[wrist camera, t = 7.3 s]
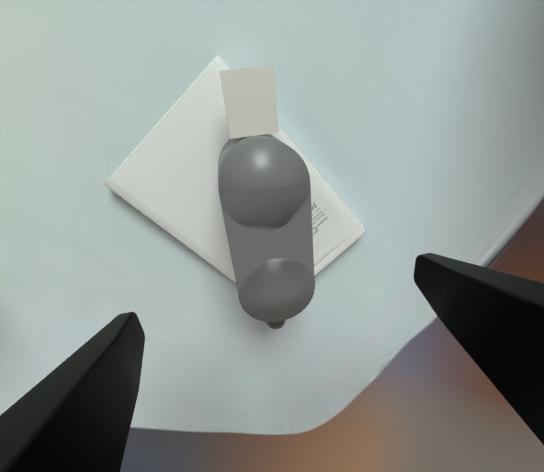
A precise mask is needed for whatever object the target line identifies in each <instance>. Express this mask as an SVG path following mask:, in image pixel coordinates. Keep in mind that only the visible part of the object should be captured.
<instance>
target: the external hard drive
mask: <svg viewBox="0 0 544 472" xmlns="http://www.w3.org/2000/svg"><path fill="white" fill-rule="evenodd" d="M223 70H230V69H229V67H228V66H227V65H226V64H225V63H224V62H223V60H222V59H221V58H220V57H219V56H218V55H217V56H216V57H215V58H214V59H213V60H212V61H211V62H210V63H209V65H208V66H207V67H206V68H205V69H204V70H203V71H202V73H201V74H200V75H199V76H198V77H197V78H196V79H195V80H194V82H193V83H192V84H191V85H190V86H189V87H188V88H187V90H186V91H185V92H184V93H183V94H182V95H181V96H180V97H179V99H178V100H177V101H176V102H175V103H174V104H173V105H172V107H171V108H170V109H169V110H168V111H167V112H166V113H165V114H164V116H163V117H162V118H161V119H160V120H159V121H158V122H157V124H156V125H155V126H154V127H153V128H152V129H151V130H150V131H149V133H148V134H147V135H146V136H145V137H144V138H143V139H142V141H141V142H140V143H139V144H138V145H137V146H136V147H135V148H134V150H133V151H132V152H131V153H130V154H129V155H128V156H127V157H126V159H125V160H124V161H123V162H122V163H121V164H120V165H119V166H118V168H117V169H116V170H115V171H114V172H113V173H112V175H111V176H110V177H109V178H108V179H107V180H106V181H105V182H104V184H105V186H107V187H108V188H109V189H111V190H112V191H113V192H115V193H116V194H117V195H119V196H120V197H121V198H123V199H124V200H125V201H127V202H128V203H129V204H131V205H132V206H133V207H135V208H136V209H138V210H139V211H140V212H142V213H143V214H144V215H146V216H147V217H148V218H150V219H151V220H152V221H154V222H155V223H156V224H158V225H159V226H160V227H162V228H163V229H164V230H166V231H167V232H168V233H170V234H171V235H172V236H174V237H175V238H176V239H178V240H179V241H180V242H182V243H183V244H184V245H186V246H187V247H188V248H190V249H191V250H192V251H194V252H195V253H196V254H198V255H199V256H200V257H202V258H203V259H204V260H206V261H207V262H208V263H210V264H211V265H212V266H214V267H215V268H216V269H218V270H219V271H220V272H222V273H223V274H224V275H226V276H227V277H228V278H230V279H231V280H232V281H234V282H235V283H236V280H235V274H234V269H233V264H232V259H231V254H230V249H229V244H228V238H227V233H226V228H225V223H224V218H223V213H222V208H221V202H220V197H219V190H218V161H219V156H220V153H221V150H222V148H223V147H224V145H225V144H226V142H227V141H228V140H229V139H230V135H229V129H228V123H227V116H226V110H225V104H224V98H223V91H222V85H221V79H220V71H223ZM278 128H279V133H272V134H271V135H273V136H274V137H276V138H277V139H279V140H280V141H282V142H283V143H285V144H286V145H288V146H289V147H291V148H292V149H293V150H295V151H296V152H297V153H298V154H299V155H300V156H301V158H302V159H303V160H304V162H305V164H306V166H307V169H308V171H309V175H310V186H311V210H312V233H313V256H314V276H315V275H316V274H318V273H319V272H320V271H321V270H322V269H324V268H325V267H326V266H327V265H328V264H329V263H330V262H332V261H333V260H334V259H335V258H336V257H337V256H339V255H340V254H341V253H342V252H343V251H344V250H345V249H347V248H348V247H349V246H350V245H351V244H353V243H354V242H355V241H356V240H357V239H358V238H359V237H360V236H361V235H362V234H363V233H364V232H365V230H366V229H365V228H364V226H363V225H362V224H361V223H360V222H359V221H358V219H357V218H356V217H355V216H354V215H353V213H352V212H351V211H350V210H349V209H348V208H347V206H346V205H345V204H344V203H343V202H342V201H341V199H340V198H339V197H338V196H337V194H336V193H335V192H334V191H333V190H332V189H331V187H330V186H329V185H328V184H327V183H326V181H325V180H324V179H323V178H322V177H321V176H320V174H319V173H318V172H317V171H316V170H315V168H314V167H313V166H312V165H311V164H310V163H309V161H308V160H307V159H306V158H305V157H304V156H303V154H302V153H301V152H300V151H299V150H298V148H297V147H296V146H295V145H294V144H293V143H292V141H291V140H290V139H289V138H288V137H287V135H286V134H285V133H284V132H283V131H282V130H281V128H280V127H279V126H278Z"/></svg>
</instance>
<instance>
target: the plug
mask: <svg viewBox="0 0 544 472" xmlns="http://www.w3.org/2000/svg"><path fill="white" fill-rule="evenodd" d="M220 79H221V85H222V91H223V98H224V104H225V110H226V116H227V123H228V129H229V135H230V139H229V140H228V141H227V142H226V144H225V145H224V147H223V148H222V150H221V153H220V156H219V161H218V190H219V197H220V202H221V208H222V213H223V218H224V223H225V228H226V233H227V238H228V244H229V249H230V254H231V259H232V264H233V269H234V274H235V280H236V285H237V290H238V295H239V300H240V303H241V305H242V307H243V309H244V310H245V311H246V312H247V313H248V314H249V315H250V316H252V317H253V318H256V319H258V320H261V321H266V322H267V324H268V326H269V327H271V328H273V329H279V328H281V327H282V326H283V325H284V323H285V320H286V319H289V318H291V317H293V316H295V315H297V314H299V313H300V312H301V311H302V310H303V309H304V308H305V307H306V306H307V305H308V304H309V302H310V301H311V299H312V297H313V294H314V289H315V280H314V256H313V233H312V210H311V186H310V175H309V171H308V169H307V166H306V164H305V162H304V160H303V159H302V158H301V156H300V155H299V154H298V153H297V152H296V151H295V150H293V149H292V148H291V147H289V146H288V145H286V144H285V143H283V142H282V141H280V140H279V139H277V138H276V137H274V136H273V135H271V134H272V133H279V128H278V117H277V105H276V94H275V82H274V71H273V65H271V66H261V67H251V68H242V69H232V70H223V71H220Z"/></svg>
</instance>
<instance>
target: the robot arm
mask: <svg viewBox="0 0 544 472" xmlns="http://www.w3.org/2000/svg"><path fill="white" fill-rule="evenodd" d="M414 281H415V283H416V285H417V286H418V288H419V289H420V291H421V292H422V294H423V295H424V297H425V298H426V300H427V301H428V303H429V304H430V306H431V307H432V309H433V310H434V311H435V313H436V314H437V316H438V317H439V319H440V320H441V321H442V323H443V324H444V325H445V326H446V328H447V329H448V330H449V331H450V333H451V334H452V335H453V336H454V337H455V339H456V340H457V341H458V342H459V343H460V345H461V346H462V347H463V348H464V349H465V351H466V352H467V353H468V354H469V355H470V357H471V358H472V359H473V360H474V362H475V363H476V364H477V365H478V366H479V367H480V369H481V370H482V371H483V372H484V373H485V375H486V376H487V377H488V378H489V380H490V381H491V382H492V383H493V384H494V386H495V387H496V388H497V389H498V390H499V392H500V393H501V394H502V395H503V396H504V398H505V399H506V400H507V401H508V403H509V404H510V405H511V406H512V407H513V409H515V411H516V412H517V413H518V415H519V416H520V417H521V418H522V419H523V421H524V422H525V423H526V424H527V425H528V427H529V428H530V429H531V430H532V432H533V433H534V434H535V435H536V436H537V438H538V439H539V440H540V441H541V442H542V443H543V445H544V283H542V282H538V281H534V280H530V279H527V278H522V277H519V276H515V275H511V274H507V273H504V272H499V271H496V270H493V269H489V268H485V267H481V266H478V265H474V264H470V263H466V262H462V261H459V260H455V259H451V258H447V257H444V256H440V255H436V254H432V253H427V254H422V255H419V256H417V258H416V262H415V270H414ZM144 342H145V335H144V331H143V329H142V326H141V324H140V322H139V319H138V317H137V315H136V313H134V312H128V313H123V314H120V315H118V316H117V317H116V318H114V319H113V320H112V321H111V322H110V323H109V324H107V325H106V326H105V327H104V328H103V329H102V330H100V331H99V332H98V333H97V334H96V335H94V336H93V337H92V338H91V339H90V340H89V341H87V342H86V343H85V344H84V345H83V346H82V347H80V348H79V349H78V350H77V351H76V352H74V353H73V354H72V355H71V356H70V357H69V358H67V359H66V360H65V361H64V362H63V363H62V364H60V365H59V366H58V367H57V368H56V369H55V370H53V371H52V372H51V373H50V374H49V375H47V376H46V377H45V378H44V379H43V380H42V381H40V382H39V383H38V384H37V385H36V386H35V387H33V388H32V389H31V390H30V391H29V392H28V393H26V394H25V395H24V396H23V397H22V398H20V399H19V400H18V401H17V402H16V403H15V404H13V405H12V406H11V407H10V408H9V409H8V410H6V411H5V412H4V413H3V414H2V415H1V416H0V472H120V468H121V464H122V460H123V455H124V451H125V447H126V443H127V438H128V434H129V430H130V426H131V421H132V417H133V413H134V408H135V404H136V400H137V395H138V390H139V384H140V376H141V368H142V359H143V351H144Z"/></svg>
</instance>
